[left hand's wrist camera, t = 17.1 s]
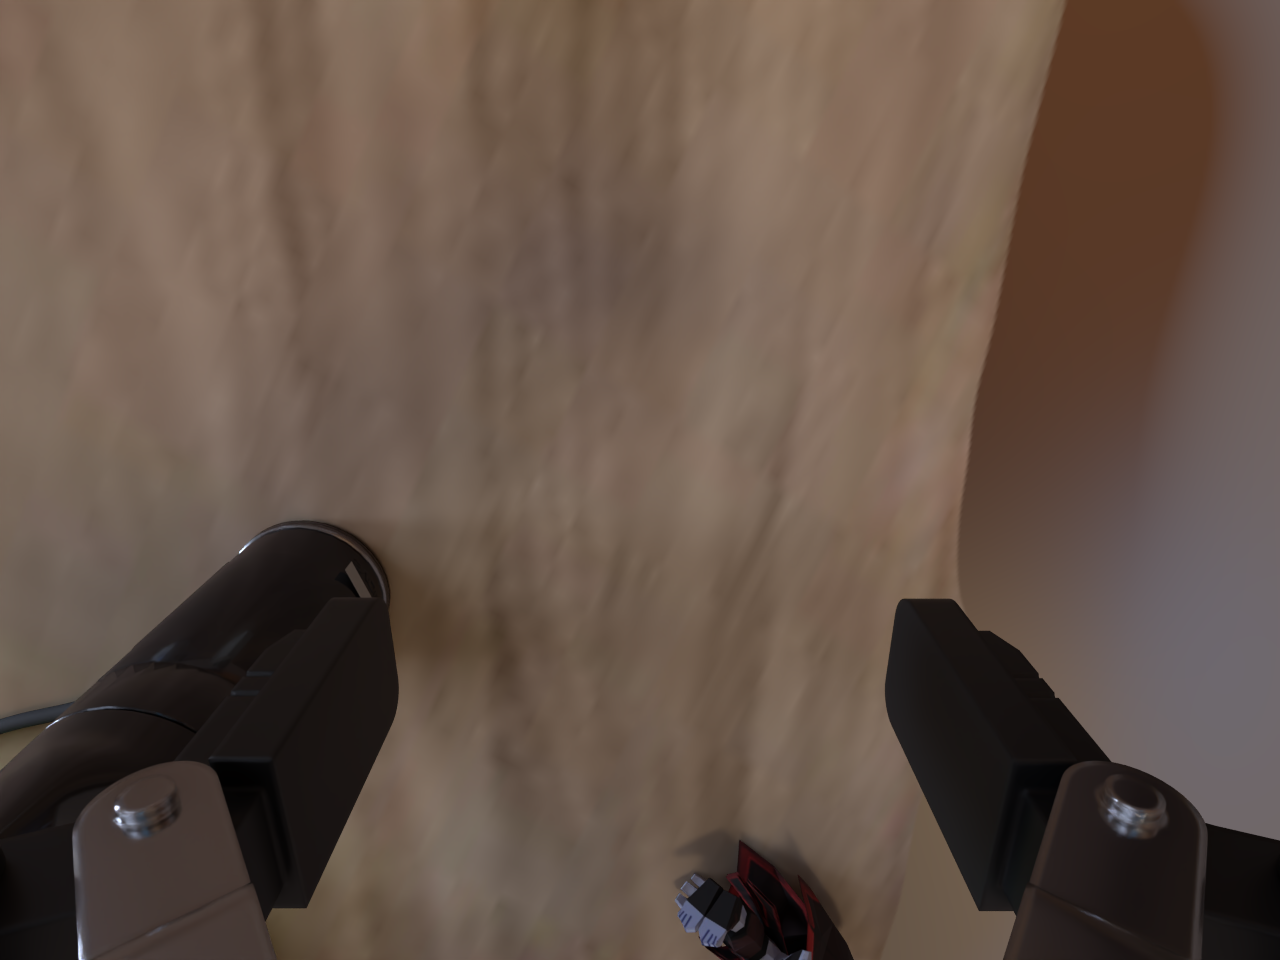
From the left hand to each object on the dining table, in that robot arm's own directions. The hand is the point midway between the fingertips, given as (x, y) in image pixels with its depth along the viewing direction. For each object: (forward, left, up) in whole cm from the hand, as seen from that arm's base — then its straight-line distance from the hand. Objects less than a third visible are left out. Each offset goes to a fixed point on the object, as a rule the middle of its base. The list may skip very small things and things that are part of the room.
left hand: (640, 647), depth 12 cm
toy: (-2, -44, -31) cm, 53 cm away
